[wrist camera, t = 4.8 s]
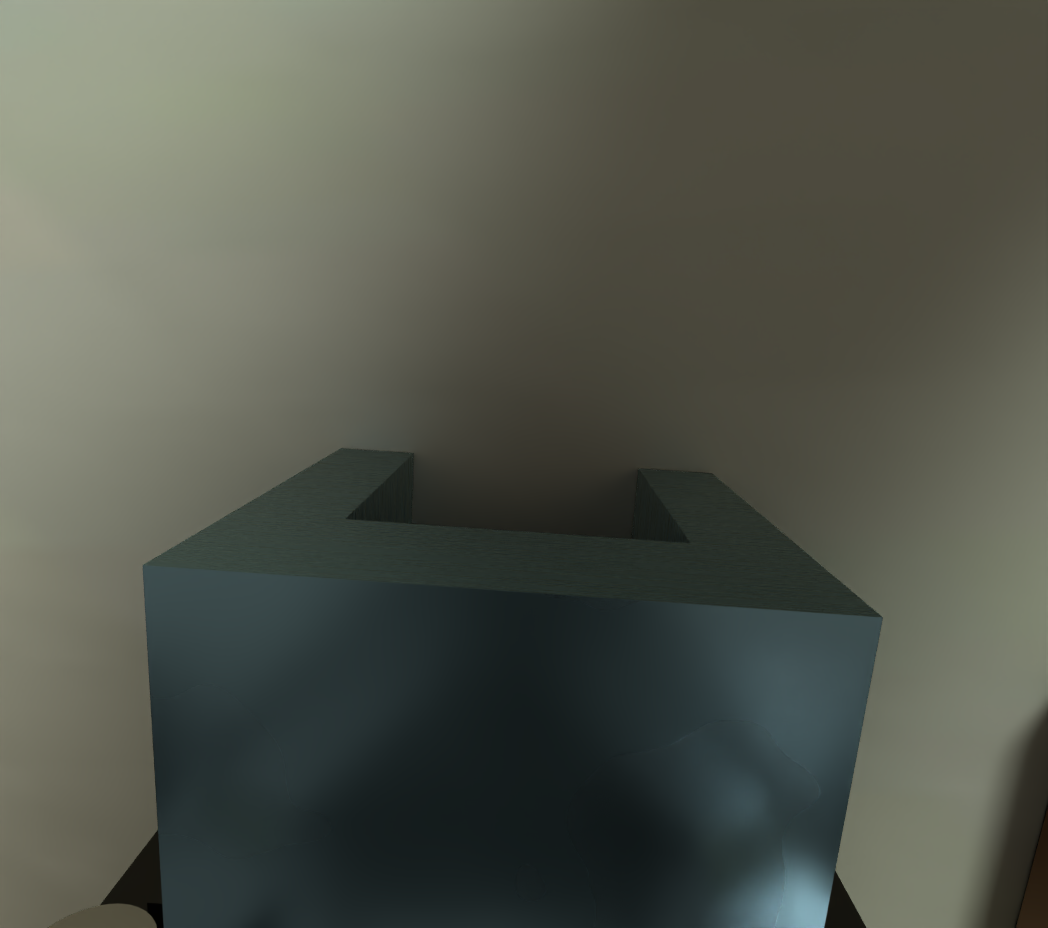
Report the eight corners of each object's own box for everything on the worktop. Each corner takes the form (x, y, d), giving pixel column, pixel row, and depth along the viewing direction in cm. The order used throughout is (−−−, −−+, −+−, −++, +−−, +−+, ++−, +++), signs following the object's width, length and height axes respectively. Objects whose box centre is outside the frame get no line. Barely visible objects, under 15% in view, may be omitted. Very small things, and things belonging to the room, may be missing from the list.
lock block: (340, 448, 10) (142, 565, 5) (711, 473, 10) (883, 617, 5) (337, 986, 12) (194, 1446, 7) (644, 1010, 12) (717, 1493, 7)
